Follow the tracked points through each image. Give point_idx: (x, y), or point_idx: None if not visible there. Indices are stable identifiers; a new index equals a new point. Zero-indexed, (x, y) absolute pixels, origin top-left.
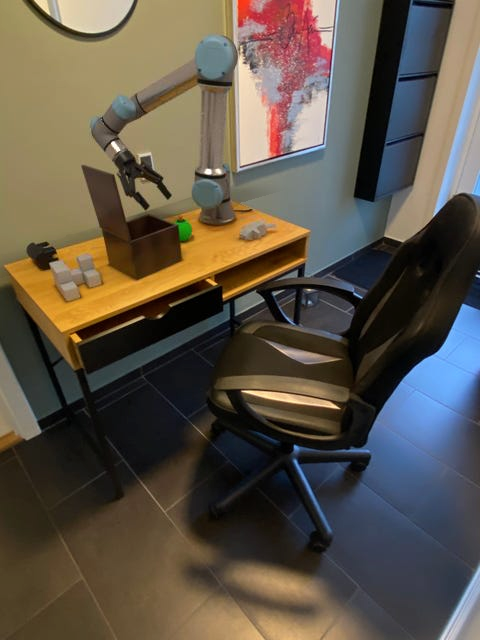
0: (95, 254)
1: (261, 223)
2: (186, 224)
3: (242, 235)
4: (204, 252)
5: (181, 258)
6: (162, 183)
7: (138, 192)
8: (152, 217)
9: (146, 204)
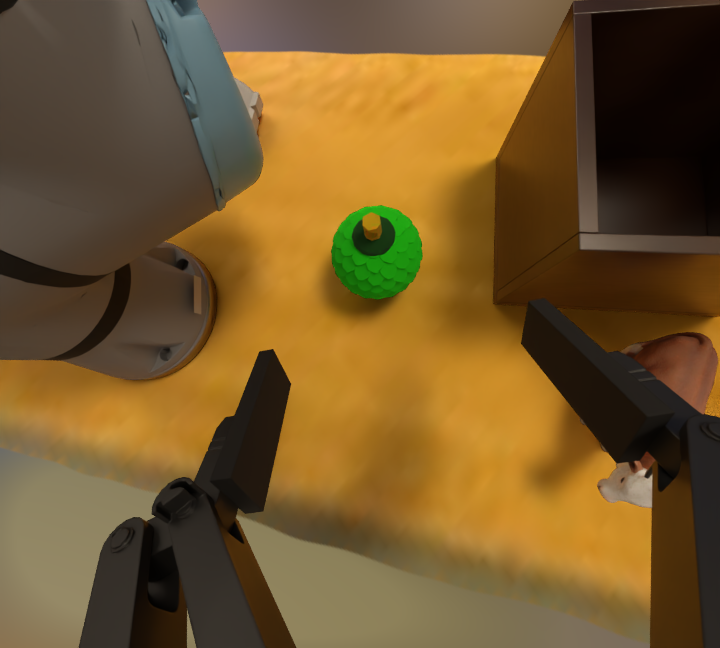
0: None
1: None
2: (372, 209)
3: (254, 112)
4: (403, 150)
5: (499, 152)
6: (220, 456)
7: (644, 402)
8: (593, 198)
9: (557, 314)
